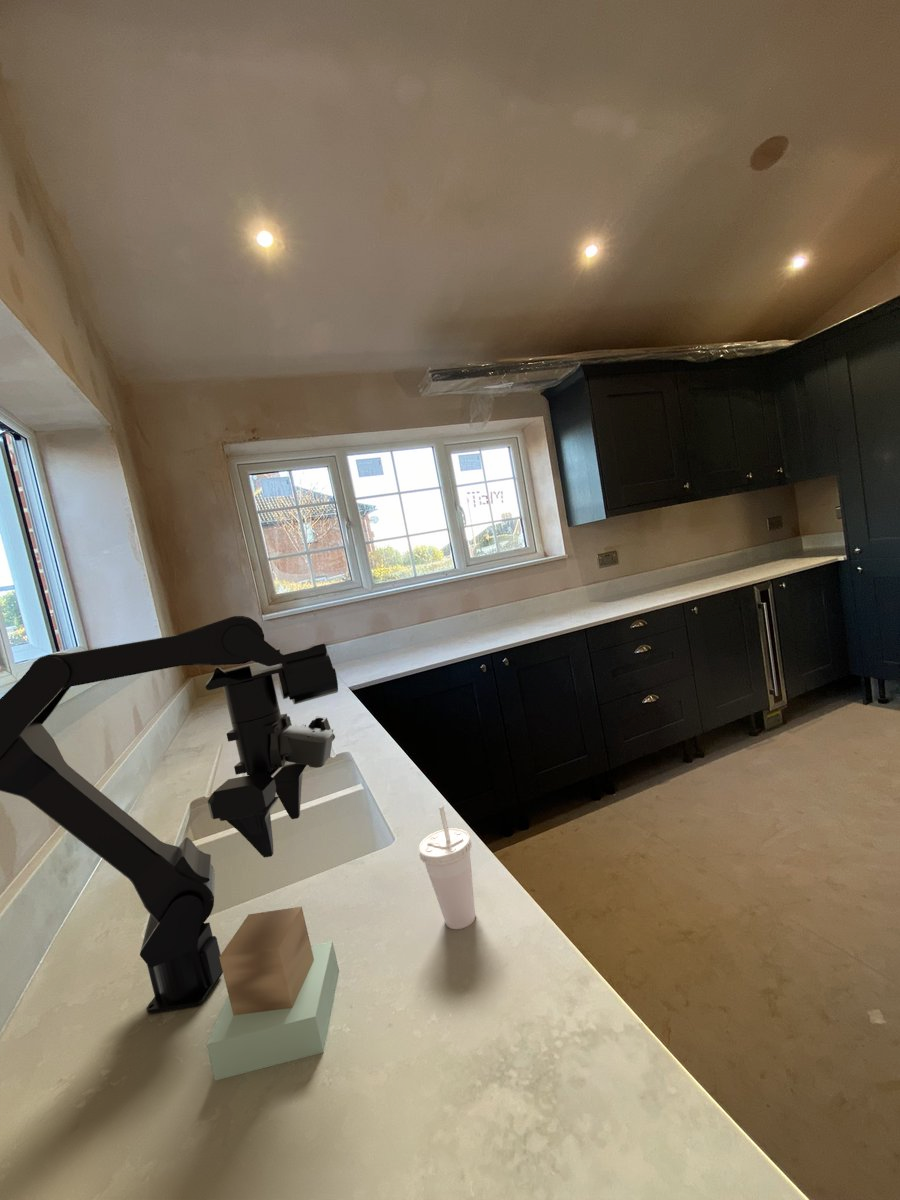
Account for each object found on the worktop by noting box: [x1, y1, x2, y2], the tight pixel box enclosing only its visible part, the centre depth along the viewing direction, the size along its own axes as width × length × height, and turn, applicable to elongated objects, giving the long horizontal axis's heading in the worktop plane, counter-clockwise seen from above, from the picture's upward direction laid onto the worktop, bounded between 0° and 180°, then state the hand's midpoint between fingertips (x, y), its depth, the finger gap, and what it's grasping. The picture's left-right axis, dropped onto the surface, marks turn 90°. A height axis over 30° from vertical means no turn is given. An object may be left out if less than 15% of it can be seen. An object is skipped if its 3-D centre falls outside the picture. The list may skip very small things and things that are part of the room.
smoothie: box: [418, 805, 476, 930], centre depth 62 cm, size 6×6×14 cm
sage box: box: [205, 940, 340, 1081], centre depth 52 cm, size 10×10×4 cm
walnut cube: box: [219, 906, 314, 1016], centre depth 52 cm, size 6×6×6 cm
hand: (283, 835), depth 65 cm, fingers open, 9 cm apart
